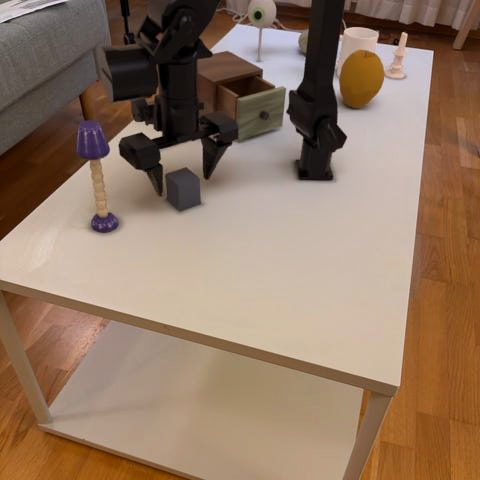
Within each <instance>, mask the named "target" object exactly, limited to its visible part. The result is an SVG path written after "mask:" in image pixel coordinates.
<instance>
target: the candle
mask: <svg viewBox="0 0 480 480" xmlns="http://www.w3.org/2000/svg"><path fill="white" fill-rule="evenodd" d="M406 32H407V31H406V30H405V31H404V32H401V36H400V39H399V42H398V46H397V50H392V51H391V54H392V55H394V58H393V61H392V63H390V64H389V66H390V68H391V69H390V68H389V69H386V70H384V77H386V78H388V79H392V80H402V79H403V78H405V72H404V71H402V69H403V68H404V65H403V64H402V63H403V59H404V57H406V56H408V52H406V51H405V48H406V44H407V39H408V35H409V34H408V33H406Z"/></svg>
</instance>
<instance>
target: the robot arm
mask: <svg viewBox="0 0 480 480" xmlns="http://www.w3.org/2000/svg"><path fill="white" fill-rule="evenodd" d="M222 1H223V0H147V11H146V12H147V13H146V14H145V15H144V17H143V20H142V22H141V24H140V26H139V28H138V29H137V32H136V33H135V36H134V39H133V40H134V41H135V43H132V44H123V45H114V44H113V45H112V44H111V45H110V44H109V45H102V46H101V54H102V56H101V58H100V68H99V72H100V79H101V83H102V87H103V90H104V93H105V96H106V98H107V100H108V102H109V103H110V104H112V105H113V104H119V103H127V102H130V109H131V110H130V111H131V114H132V118H133V121H134V122H136V123H144V124H145V126H149V125H153V130H154V131H155V132H157V133H159V132H161V136H158V137H155V138H150V137H148V136H147V135H146V134H145V133H144V132H142V131H141V132H137V133H134V134H130V135H126V136H123V137H121V139H120V140H119V142H118V145H117V147H118V152H119V153H118V154H119V156H120V157H121V158H122V159H124V160H125V161H126V162H127V163H128V164H129V165H130V166H131V167H133V169H135V170H136V171H142V172H144V173H145V174H146V175H147V177H148V179H149V180H148V181H150V183H151V185H152V187H153V189H154V191H155V193H156V195H157V196H158V197H159V198H161V197H163V192H164V165H163V164H162V163H161V162H160V161H161V160H162V157H161V156H162V155H161V152H164V151H167V150H170V149H174V148H177V147H180V146H184V145H187V144H190V143H193V142H196V141H198V140H200V142H201V146H202V176H203V179H204V180H205V181H209V180H210V178H211V177H212V175H213V173H214V172H215V169H216V168H217V166H218V165H219V162H220V161H221V159H222V157H223V156H224V154H225V153H226V151H227V150H228V149H229V148H230V147H232V145H233V142H235V141H239V140H238V138H239V126H238V124H237V122H236V121H235V120H234V119H232V118H230V117H229V116H227V115H226V114H224V113H223V112H221V111H220V110H219V111H215V112H212V113H208V114H205V115H202V116H201V117H200V118H199V110H203V109H204V102H203V101H201V100H199V84H198V59H205V58H211V57H212V56H213V54H214V53H213V51H212V50H210V49H209V48H208V47H207V46H206V44H205V43H204V41H203V39H202V38H201V36H202V34H203V33H204V32H205V30H206V29H208V27H209V25H210V24H211V23H212V21H213V20H214V17H215V15H216V13H217V10H218V8H219V5H220V3H221V2H222ZM345 6H346V0H311V5H310V13H309V23H308V29H309V30H308V39H307V48H306V53H305V59H304V66H303V67H304V68H303V76H302V80H301V82H300V83H299V85H298V86H297V88H296V89H290V90H289V91H288V105H287V108H286V111H285V113H286V114H287V115H288V117H289V121H290V123H291V124H292V125H293V126H294V129H295V132H296V133H297V134H299V136H300V137H302V141H301V142H302V143H301V148H300V149H301V150H300V156H299V159H298V158H297V159H295V160H294V164H295V168H296V174H297V179H299V180H313V181H314V180H319V181H321V180H324V181H332V180H334V174H333V170H332V167H331V163H332V159H333V158H332V156H333V153H336V151H337V150H340V149H343V148H344V146H345V143H346V142H347V139H348V135H347V134H346V133H345V132H344V131H343V129H342V128H341V127H340V126H339V125H338V121H339V118H338V117H339V103H338V99H337V95H336V92H335V88H334V87H335V86H334V77H335V72H336V66H335V65H336V61H337V59H338V51H339V46H340V45H339V44H340V41H339V39H340V35H341V32H342V26H343V20H344V19H343V18H344V13H345ZM159 35H162V36H161V37H160V40H159V38H158V37H157V36H159ZM157 91H158V94H157ZM153 96H154V99H153V100H151V101H147V99H150V98H152V97H153Z"/></svg>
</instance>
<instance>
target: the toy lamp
mask: <svg viewBox="0 0 480 480" xmlns="http://www.w3.org/2000/svg"><path fill="white" fill-rule="evenodd" d="M75 152H76V155H77V156H78V157H79V158H81V159H83V160H88V162H89V169H90V172H91V173H90V175H91V180H92V187H93V190H94V191H93V196H94V198H95V206H96V213H95V214H94V215H93V217H92V218H91V223H90V225H91V228H92V229H93V230H94V231H96V232H98V233H109V232H113V231H114V230H116V229H117V228H118V226H119V223H120V222H119V219H118V218H117V216H116V215H115V214H113V212H110V211H109V209H108V207H107V206H108V200H107V192H106V189H105V188H106V184H105V181H104V172H103V165H102V162H101V160H102V159H104V158H106V157H107V156H109V154H110V152H111V147H110V144H109V143H108V140H107V137H106V135H105V133H104V130H103V128H102V125H101V124H100V123H99V122H98V121H96V120H89V119H88V120H84V121H81V122H80V123H79V124H78V125H77V131H76V142H75Z"/></svg>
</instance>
